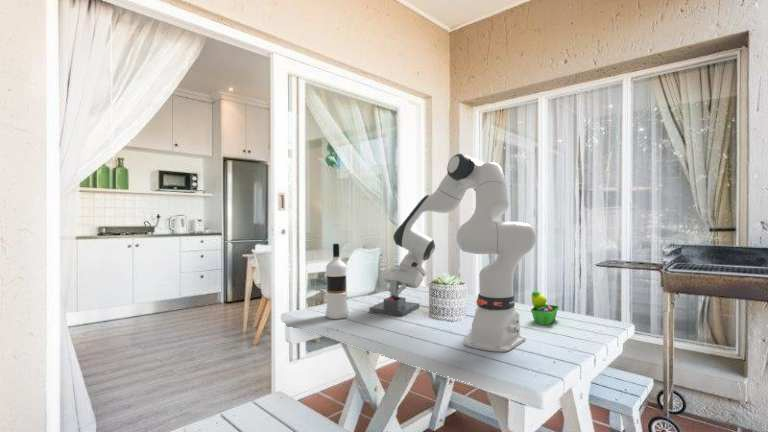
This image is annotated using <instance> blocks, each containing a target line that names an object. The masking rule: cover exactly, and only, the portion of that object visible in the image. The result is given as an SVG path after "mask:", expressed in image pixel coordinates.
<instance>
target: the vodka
mask: <svg viewBox="0 0 768 432" xmlns="http://www.w3.org/2000/svg"><path fill="white" fill-rule="evenodd" d="M347 267H348V266H347V264H346V263H345V262H343V261H342V260H341V259H340V244H339V243H333V244H332V260H331V261H329V262H328V263H327V264H326V268H325V270H326V273H325V274H326V310H325V316H326V317H327V318H328V319H329V320H342V319H345V318H347V317H349V312H350V311H349V308H348V295H347V294H348V291H347V275H348V274H347V269H348V268H347Z"/></svg>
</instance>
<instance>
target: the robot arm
mask: <svg viewBox="0 0 768 432" xmlns="http://www.w3.org/2000/svg"><path fill="white" fill-rule="evenodd" d="M446 169H447V174H446V175H444V177H443V179H441V182H440V183H439V184H438V186H437V188H436V190H435V191H434V192H433V193H431V194H427V195H424V196H423V198H422V199H420V201H418V203H417V204H416V206H415V207H414V208H413V209H412V210H411V212H410V213H409V214H408V216H407V217H406V218H405V220H404V221H403V222H402V223H401V224H400V225H399V226H398V227H397V229H396V230H395V231H394V234H393V240H394V243H395V244H396V246H399V247H400V248H403V249H405V250H407V251H408V253H407V254H406V255H404V257H403V259H401V261H400V263H399V265H397V264H396V265H394V266H391V267H390V268H389V269H388V270H387V271H386V273H385V274H384V275H383V280H384V282H385V283H387V284H390V281H392V280H397V281H399V288H397V289H396V291H395V292H396V293H397V294H399V295H400V294H401V293H402V292H403V291H404V290H406V289H407V288H411V289H416V290H417V288H419V287H420V286H421V284H422V282H423V280H424V277H425V276H427V271H426V270H425V268H423V263H424V262H425V261H427V260H429V259H430V258H431V256H432V254H433V253H434V251H435V249H436V244H435V241H434V239H432V238H431V237H430V236H428V235H426V234H424V233H422V232H421V231H419V230H417V229H415V227H414V224H415V223H416V222H417V220H418V219H419V218H420V217H421V216H422V214H423V213H425V212H434V213H442V214H446V213H447V214H448V213H452V212H453V211H455V210H456V209H457V207H458V206H459V205H460V203H461V201H462V200H463V198H464V196H465V193H466V192H467V191H468V190H469V189H473V190H474V192H475V209H474V211H473V214H472V216H471V217H470V218H469V219H468V220H467V221H466V222H464V223H463V224H461V225H460V227H459V229H458V231H456V232H457V233H456V243H457V245H458V247H459V249H460V250H461V251H463V253H464V252H465V253H469V254H474V255H497V256H496V259H495V260H494V261H493V262H492V263H490V264H487V265H486V266H484V267H482V268H481V270H480V271H479V273H478V274H479V275H478V276H479V277H478V279H479V281H478V283H479V285H478V289H479V290H478V291H479V293H478V295H477V299H476V301H475V302H476V306H477V307H476V308H475V312H474V315H473V319H472V323H471V328H470V329H469V330H468V332H467V335H466V338H465V339H464V342H463V343H464V346H466V347H469V348H472V349H478V350H484V351H491V352H508V351H510V350H512V349H513V348H516V347H518V345H520V344H521V343H523V342H525V341H526V336H525V335H523V334H521V322H520V321H521V319H520V313H519V312H518V311H517V310H516V308H515V302H516V299H515V294H514V278H515V271H516V268H517V265H518V264H519V262H520V261H521V260H522V258H524V256H525V255H526V254H528V253H529V252H530V251H532V249H533V248H534V246H535V244H536V232H535V230H534V228H533V227H532V226H531V225H530V224H529V223H525V222H521V221H520V222H519V221H495V220H496V219H497V218H499V217H501V216H503V215H504V214H505V213H506V212H507V211H508V208H509V205H510V204H509V203H510V202H509V197H508V187H507V181H506V177H505V174H504V171H503V169H502V167H501V165H499V164H498V163H496V162H491V161H490V162H489V161H487V162H483V161H481V160H480V159H477V158H474V157H472V156H469V155H468V154H465V153H457V154H455V155H453V156H452V157H451V158H450V159H449V161H448V164H447V168H446ZM387 291H388V292H389V293H390V285H389V287H388V289H387Z"/></svg>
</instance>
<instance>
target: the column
mask: <svg viewBox="0 0 768 432" xmlns="http://www.w3.org/2000/svg"><path fill="white" fill-rule="evenodd" d="M389 286H390V292H389V293H390V295H389V297H390V298H394V300H399V297H400V294H397V293H396V292H395V291H396V289H397V288H399V287H400V285H399V281H397V280H392V281H390V283H389Z"/></svg>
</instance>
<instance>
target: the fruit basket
mask: <svg viewBox="0 0 768 432" xmlns="http://www.w3.org/2000/svg"><path fill="white" fill-rule="evenodd" d="M530 296H531V303H532V306H533V307H532V308H531V309H530V311H531V314H532V317H533V321H534V323H535V324H541V325H542V324H543V325H548V326H549V325H550V324H551V323H552V322H554V321H555V320H556V317H557V313H558V310H559V308H560V307H559V306H558V305H551V304H547V301H548V299H547V297H546V296H544V295H543V294H542V293H541V292H539V291H537V290H534V291H532V293H531V295H530Z"/></svg>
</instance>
